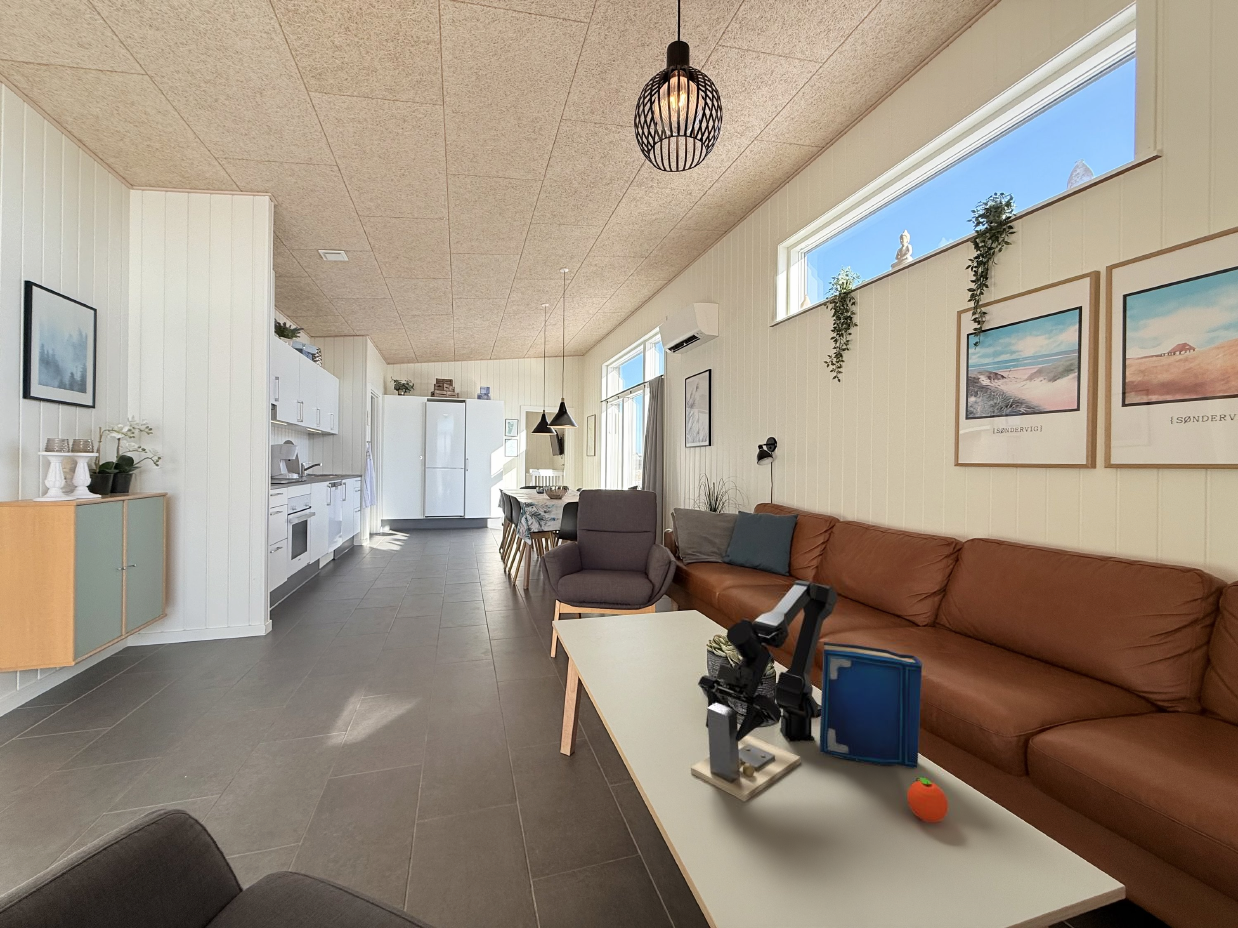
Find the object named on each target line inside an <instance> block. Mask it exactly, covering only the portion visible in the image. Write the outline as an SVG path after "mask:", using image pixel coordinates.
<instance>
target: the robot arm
mask: <svg viewBox="0 0 1238 928" xmlns="http://www.w3.org/2000/svg"><path fill="white" fill-rule="evenodd" d="M838 595H839V594H838V592H837V591H835V588H834V587H833V586H830V585H823V584H819V583H814V582H812V581H807V580H806V581H804V580H800V579H799V580H795V581H794V582H793V584H792V586H791V589H789V591H788V592H787V593H786V594H785V596H784V597H783V598H782V599H781V600H780V601H779V602H778V603H777V605H776V606H775V607H774V608H773V609H772V610H771V611H769V612H765V613H762V614H761V615H759V616H758V617H757V618H756V619H754V621H753V622H752V621H751V620H750V619H748V618H747V619H746V618H742V619H741V621H740V622H737V623H734V624H732V626H730V627H729V628H728V629H727V631H726V639H727V641H728V643H729V644H730V646H732V648H733V650H735V652H736V653H737V655H738V656H739V657H740V659H741V660H740V662H739V663H738V664H737V663H735V664H734V665H733V666H732V667H731V666H727V665H725V664H723V663H722V664H721V663H720V664H719V666H718V671H717V674H716V678H715V677H713V676H710V675H707V674H704V675H702V676H701V677H700V679H699V680H698V682H697V685H698V686H699V687H700V689H701V690H702V691H703V692H704V693H705V694H706V696H707V708H708V707H709V706H711V705H713V704H714V703H718V704H721V705H723V706H726V705H725V703H724V701H722V700H723V699H724V698H727V699H729V700H732V701H735V702H738V703H741V704H744V705H746V709H745V715H744V717H743V719H742V722H741V724H740V725H739V728H738V732H737V735H736V738H735V739H736V741H738V742H739V741H740V740H741V739H743V738H744V737H745V736H747V735H749V734H750V733H751V732H752V731H755V729H757V728H758V727H760V726H761V725H763V724H764V723H765V724H769V722H770V721H771V722H772V723H775V724H778V723H779V722H780V728H779V731H780V732H781V733H782V735H784V737H785V738H786V739H787V740H788V741H789V742H791V743H794V742H795V743H796V742H808V741H815V736H813V735H812V725H813V723H812V720H813V719H812V718H816V716H817V714H818V711H819V704H818V702H817V701H816V699H815V698H814V697H813V690H814V687H813V685H812V681H811V678H810V674H811V670H812V667H813V662H814V659H815V655H816V651H817V647H818V643H819V639H820V636H821V635H820V634H821V631H822V627H823V625H824V624H823V623H824V621H825V620H826V619H827V618H829V616H831V615H832V614H833V611H834V609H835V606H836V605H837V602H838V600H839V599H838ZM802 610H803V618H802V621H801V624H800V630H799V632H798V636H797V640H796V643H795V648H794V651H793V655H792V659H791V662H790V666H789V668H788V669H787V670H786V671H780V673H778V674H779V675H778V678H777V683H776V685H775V689H774V698H775V700H774V698H772V697H769V696H766V695H763V694H761V693H758V694H756V693H757V691H758V689H759V687H761V688H763V686H764V684H765V682H764V681H763V678H764V676H765V674H766V671H767V668H768V667H769V664H773V665H774V664H775V657H774V655H773V651H772V650H770V649H769V648H768V647H770V648H771V647H772V648H775V649H780V648H782V647H783V645H784V644H785V642H786V641H787V639H788V637H789V635H790V634H789V627H790V625H791V624H792V623H793V621H794V620H795V618H796V617H797V616H798V615H799V614H800V612H801V611H802ZM719 680H723V684H724V685H725V686H723V684H722V683H721V682H720V681H719ZM726 686H727V687H726ZM705 719H706V722H705V727H706V728H707V729H708V715H707V714H706V718H705Z"/></svg>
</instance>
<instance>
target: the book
mask: <svg viewBox="0 0 1238 928" xmlns="http://www.w3.org/2000/svg"><path fill="white" fill-rule="evenodd" d="M822 651H823V655H822V677H821V678H822V679H821V696H820V697H821V701H820V703H821V704H820V724H819V725H820V726H819V753H820V754H825V755H829V756H834V757H839V758H842V759H846V760H850V761H855V762H860V761H861V763H866V762H867V764H873V765H878V764H879V765H880V766H884V765H886V766H896V765H898V766H900V767H904V768H907V769H908V768H909V769H917V767H918V763H919V743H920V723H921V722H920V720H921V718H920V717H921V698H922V697H921V695H922V676H923V675H922V674H923V673H922V672H923V671H922V670H923V663H922V661H921V660H920V659H919V658H918V657H917V656H914V655H911V654H903V653H902V654H901V653H897V652H894V651H891V650H888V649H885V648H884V649H883V648H878V647H872V646H871V647H870V646H865V645H864V646H863V645H858V644H857V645H856V644H849V643H837V642H836V643H835V642H823V650H822ZM879 765H878V766H879Z"/></svg>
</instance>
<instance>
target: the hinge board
mask: <svg viewBox="0 0 1238 928" xmlns="http://www.w3.org/2000/svg"><path fill="white" fill-rule="evenodd" d="M738 747H739V758H741V759H742V760H743V765H742V767H741V769H740V777H739V778H738V779H737V780H735V781H734V782H733V783H732V784H731V783H729V782H727V781H726V780H724V779H722V778H720V777H718V776H716V775H714V774H712V773H710V756H708V757H707V758H704V759H703V760H701V761H699V762H698V763H696V764H694V765H693V766H690V774H692V775H694V776H696V777H698V778H700V779H701V780H704V781H706V782H707V783H710V784H711V785H713V786H715V787H717V788H719V789H721V790H722V791H725V792H727V793H729V794H730V795H733V796H734V797H736V798H738V799H739V800H741V801H743V802H746V801H747V800H748V799H750V798H752V797H753V796H754V795H756V794H757V793H759V792H760V791H762V790H763V789H764V788H766V787H767V786H769V785H770V784H771V783H773V782H774V781H776V780H777V779H778V778H780V777H781V776H783V775H784V774H785V773H787V772H788V771H790V770H792V769H793V768H794V767H796V766H797V765H799V764H800V763H801V756H800V755H796V754H794V753H792V752H789V751H787V750H785V749H782V748H780V747H777V746H775V745H773V744H770V743H768V742H766V741H763V740H761V739H759V738H756V737H754V736H752V735H749V734H748V735H746V736H745V737H744V738H743V739H741V740H740V741H739V742H738Z"/></svg>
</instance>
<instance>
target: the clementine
mask: <svg viewBox="0 0 1238 928" xmlns="http://www.w3.org/2000/svg"><path fill="white" fill-rule="evenodd" d="M906 796H907V803H908V806H909V808H910V810H911V811H912V813H913V814H914V815H915V816H917V817H918V818H919V819H920V820H922V821H925V822H928V823H937V822H940V821H942V820H943V819H945V818H946V815H947V814H948V811H949V802H948V798H947V797H946V793H944V791H943V790H942V788H941V787H939V786H938V785H937V784H936V783H934V782H932V781H930V780H928V779H927V778H925V777H916V779H915V781H914V782H913V783H912V784H911V785H910V786H909V788H908V790H907V794H906Z"/></svg>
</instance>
